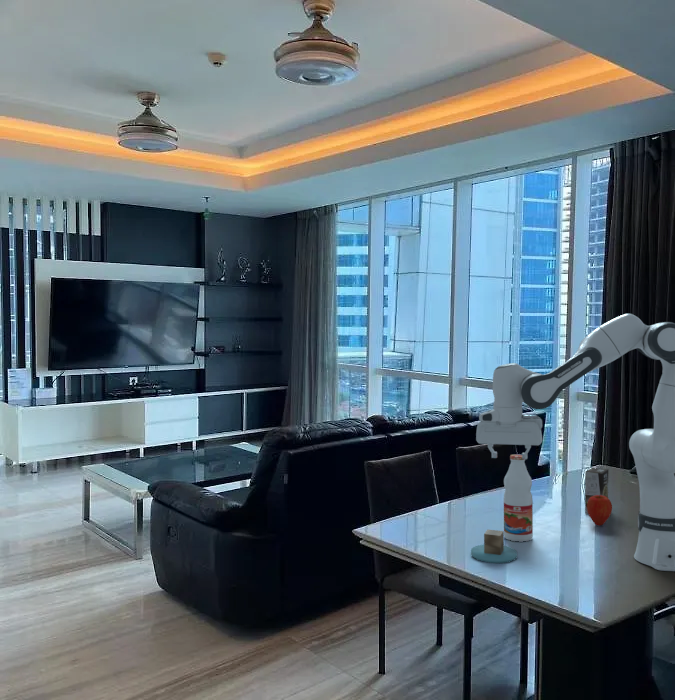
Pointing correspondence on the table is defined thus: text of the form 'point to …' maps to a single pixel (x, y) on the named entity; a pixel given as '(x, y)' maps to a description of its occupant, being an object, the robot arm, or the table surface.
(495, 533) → the walnut block
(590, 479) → the coffee box
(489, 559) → the dish
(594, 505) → the strawberry
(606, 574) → the table surface
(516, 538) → the fruit juice
